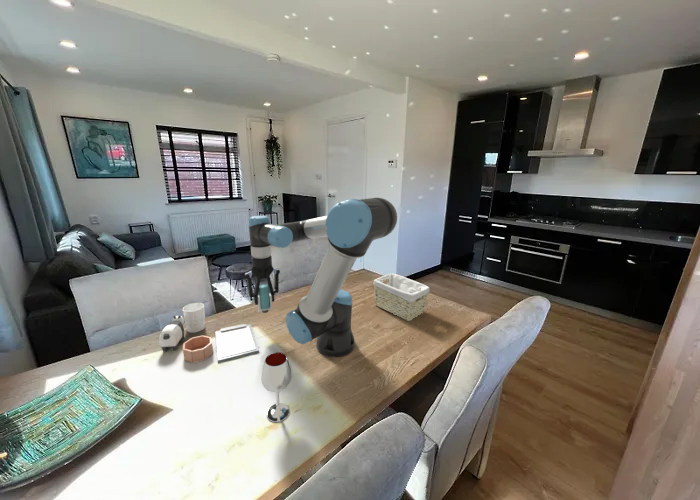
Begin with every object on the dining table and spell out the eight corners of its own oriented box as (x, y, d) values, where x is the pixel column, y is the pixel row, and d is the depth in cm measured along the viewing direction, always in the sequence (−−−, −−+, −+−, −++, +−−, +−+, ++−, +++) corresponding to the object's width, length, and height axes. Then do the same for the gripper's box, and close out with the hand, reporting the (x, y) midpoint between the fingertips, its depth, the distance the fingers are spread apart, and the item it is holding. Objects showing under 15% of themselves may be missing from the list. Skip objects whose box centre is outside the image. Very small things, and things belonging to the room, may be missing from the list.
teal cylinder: (271, 312, 115) (269, 287, 112) (261, 314, 113) (259, 289, 110) (269, 308, 118) (267, 284, 115) (259, 310, 116) (257, 285, 113)
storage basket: (428, 313, 139) (431, 286, 135) (409, 324, 128) (412, 295, 124) (390, 296, 155) (392, 272, 151) (370, 305, 144) (372, 279, 140)
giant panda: (176, 353, 103) (172, 330, 100) (159, 354, 102) (155, 331, 99) (191, 331, 117) (188, 310, 114) (176, 331, 116) (173, 311, 113)
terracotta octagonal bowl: (213, 357, 101) (212, 347, 100) (184, 364, 97) (182, 353, 96) (212, 343, 109) (211, 333, 108) (185, 349, 105) (183, 339, 103)
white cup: (197, 334, 114) (194, 313, 111) (181, 332, 115) (177, 310, 113) (210, 324, 121) (208, 304, 119) (194, 322, 123) (192, 301, 120)
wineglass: (266, 401, 83) (263, 349, 78) (294, 400, 84) (293, 349, 79) (260, 425, 75) (256, 370, 70) (291, 424, 76) (289, 369, 71)
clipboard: (259, 352, 105) (258, 348, 105) (218, 362, 99) (217, 358, 98) (250, 325, 122) (250, 322, 122) (215, 333, 116) (214, 329, 115)
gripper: (280, 251, 116) (283, 302, 122) (237, 255, 108) (242, 310, 115) (285, 255, 110) (287, 309, 116) (239, 261, 102) (244, 318, 108)
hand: (265, 309), depth 115 cm, fingers closed on teal cylinder, 4 cm apart
